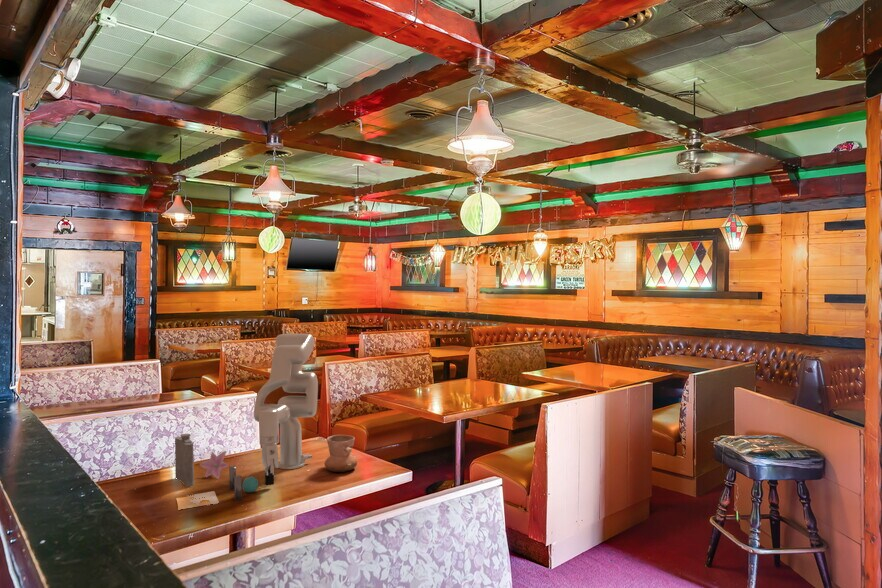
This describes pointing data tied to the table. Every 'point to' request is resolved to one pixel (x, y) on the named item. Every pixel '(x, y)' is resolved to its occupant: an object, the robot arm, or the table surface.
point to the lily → (214, 464)
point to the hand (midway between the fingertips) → (269, 484)
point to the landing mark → (208, 496)
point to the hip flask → (184, 460)
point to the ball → (250, 484)
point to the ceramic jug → (340, 453)
